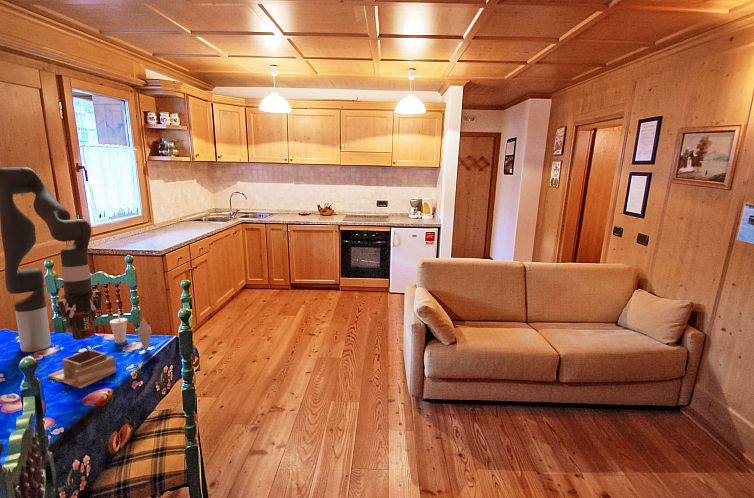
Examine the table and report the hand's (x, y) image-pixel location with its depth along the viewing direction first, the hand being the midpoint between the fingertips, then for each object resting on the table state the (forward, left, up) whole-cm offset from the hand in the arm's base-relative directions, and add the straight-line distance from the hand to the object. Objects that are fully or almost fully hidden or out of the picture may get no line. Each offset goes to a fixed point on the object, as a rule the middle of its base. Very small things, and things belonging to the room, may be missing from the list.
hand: (82, 323), depth 130 cm
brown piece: (-2, 0, -20) cm, 20 cm away
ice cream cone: (+1, +22, -20) cm, 30 cm away
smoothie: (-17, +24, -20) cm, 35 cm away
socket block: (0, 0, -19) cm, 19 cm away
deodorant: (0, 0, -5) cm, 5 cm away
